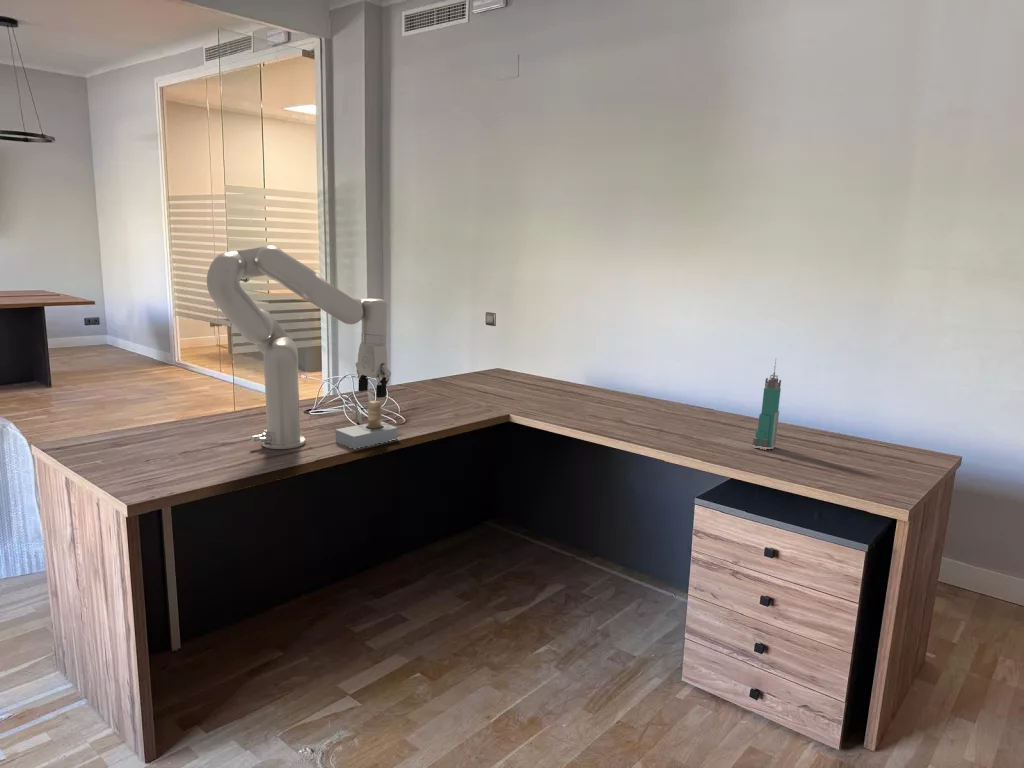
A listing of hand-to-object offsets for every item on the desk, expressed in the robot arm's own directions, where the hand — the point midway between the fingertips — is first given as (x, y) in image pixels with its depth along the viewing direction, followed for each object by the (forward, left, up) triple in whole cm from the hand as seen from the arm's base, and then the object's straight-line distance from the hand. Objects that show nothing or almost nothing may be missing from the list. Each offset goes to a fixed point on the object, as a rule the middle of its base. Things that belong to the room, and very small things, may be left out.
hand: (372, 394), depth 218 cm
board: (-2, 0, -15) cm, 15 cm away
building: (+92, -85, -15) cm, 126 cm away
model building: (+14, +25, -15) cm, 32 cm away
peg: (+1, 0, -15) cm, 15 cm away
